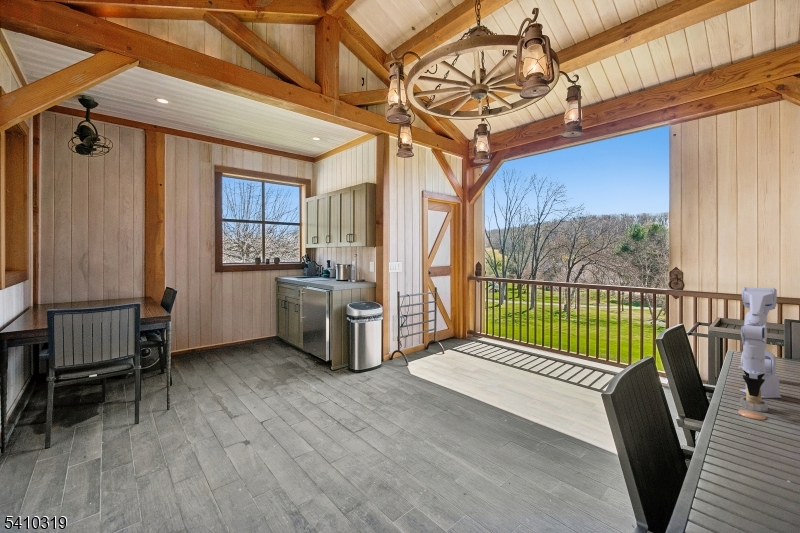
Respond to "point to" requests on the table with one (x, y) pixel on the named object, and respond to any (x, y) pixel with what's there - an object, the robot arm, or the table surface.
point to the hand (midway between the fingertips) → (753, 392)
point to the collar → (754, 405)
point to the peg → (753, 397)
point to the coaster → (752, 414)
